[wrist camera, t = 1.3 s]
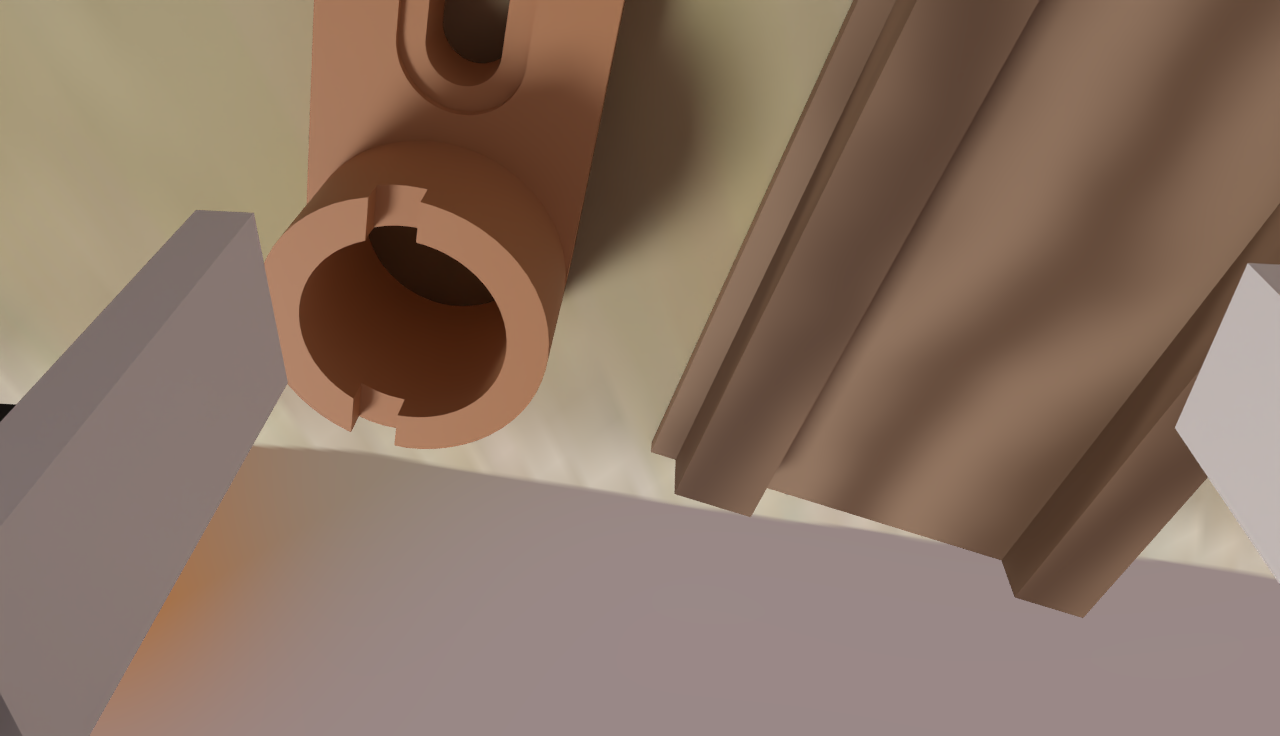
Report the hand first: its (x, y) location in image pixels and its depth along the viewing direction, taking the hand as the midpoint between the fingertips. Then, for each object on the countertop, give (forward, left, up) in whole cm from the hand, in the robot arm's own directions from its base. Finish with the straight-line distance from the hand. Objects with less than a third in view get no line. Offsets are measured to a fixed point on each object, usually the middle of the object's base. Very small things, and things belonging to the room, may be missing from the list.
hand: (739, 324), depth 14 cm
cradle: (+13, -5, -19) cm, 23 cm away
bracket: (-6, -5, -19) cm, 21 cm away
